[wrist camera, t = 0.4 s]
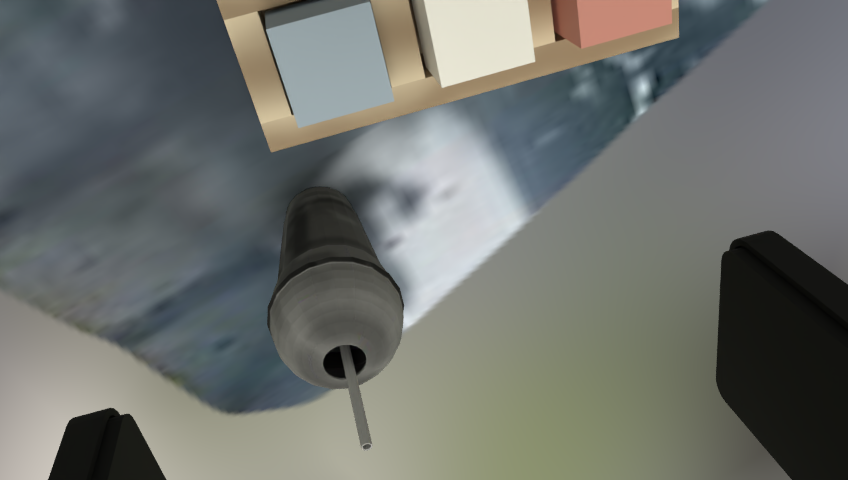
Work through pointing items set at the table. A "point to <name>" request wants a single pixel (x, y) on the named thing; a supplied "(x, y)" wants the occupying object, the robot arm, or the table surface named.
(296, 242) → the beverage cup
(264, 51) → the key box
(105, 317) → the table surface
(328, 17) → the blue key
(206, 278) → the table surface
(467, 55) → the white key
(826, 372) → the robot arm
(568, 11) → the red key
